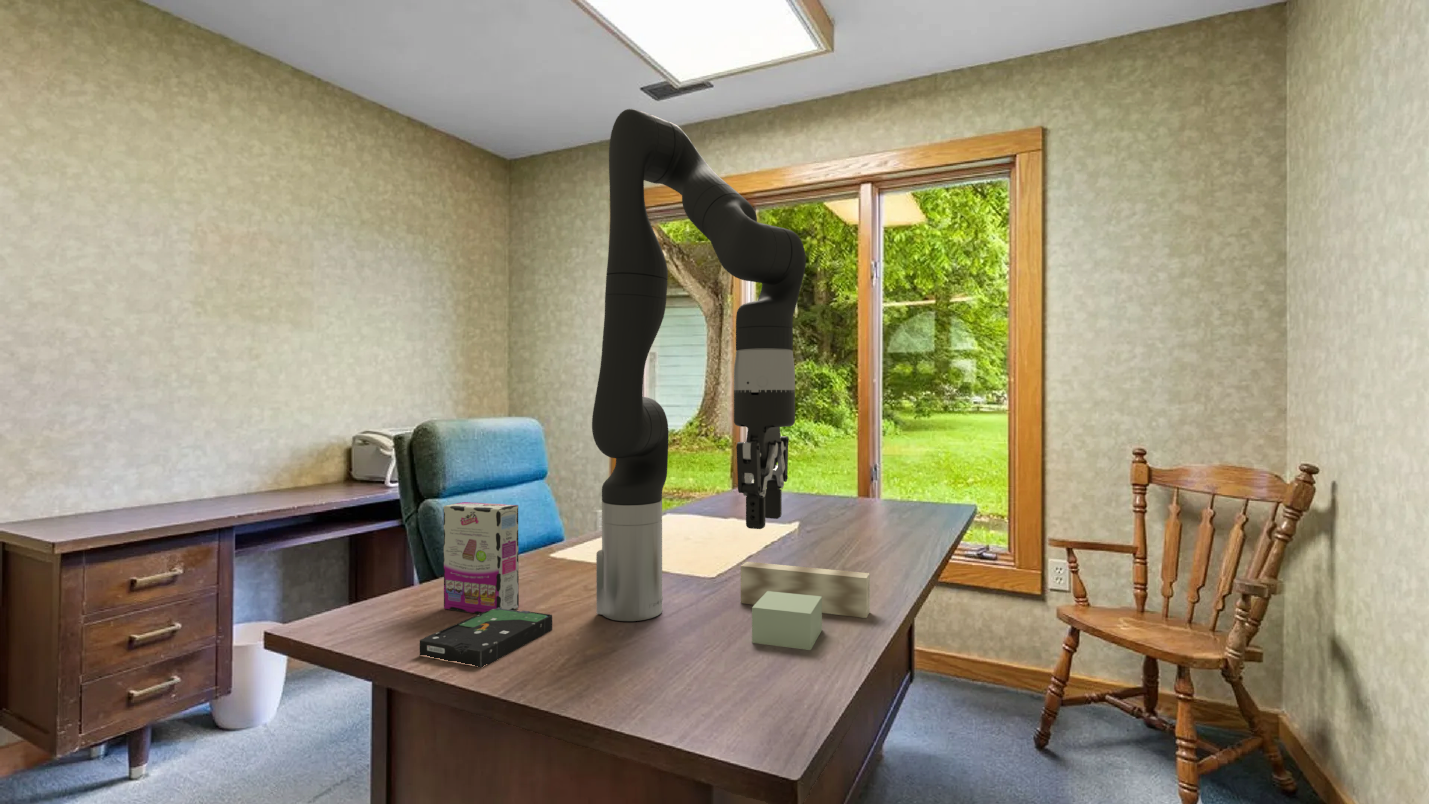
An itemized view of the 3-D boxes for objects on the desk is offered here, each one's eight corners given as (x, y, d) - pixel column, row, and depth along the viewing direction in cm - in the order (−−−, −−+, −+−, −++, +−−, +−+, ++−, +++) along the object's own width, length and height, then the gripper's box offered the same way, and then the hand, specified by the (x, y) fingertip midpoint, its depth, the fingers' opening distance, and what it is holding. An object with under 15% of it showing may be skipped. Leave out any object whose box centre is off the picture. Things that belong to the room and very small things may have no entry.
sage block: (752, 644, 90) (752, 607, 90) (767, 625, 97) (767, 591, 97) (810, 651, 87) (810, 613, 87) (821, 631, 95) (821, 596, 95)
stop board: (740, 603, 107) (740, 565, 107) (746, 597, 110) (746, 561, 110) (866, 618, 99) (866, 578, 99) (869, 612, 102) (869, 573, 102)
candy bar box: (520, 608, 104) (520, 504, 104) (499, 618, 100) (498, 509, 100) (465, 600, 109) (464, 500, 109) (441, 609, 104) (441, 504, 104)
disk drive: (483, 673, 81) (554, 632, 95) (482, 651, 81) (553, 612, 95) (417, 661, 85) (495, 623, 99) (417, 639, 85) (495, 604, 99)
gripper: (753, 388, 90) (753, 511, 90) (714, 387, 76) (714, 531, 77) (807, 388, 87) (808, 515, 87) (777, 386, 74) (777, 536, 74)
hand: (764, 522), depth 82 cm, fingers open, 6 cm apart
